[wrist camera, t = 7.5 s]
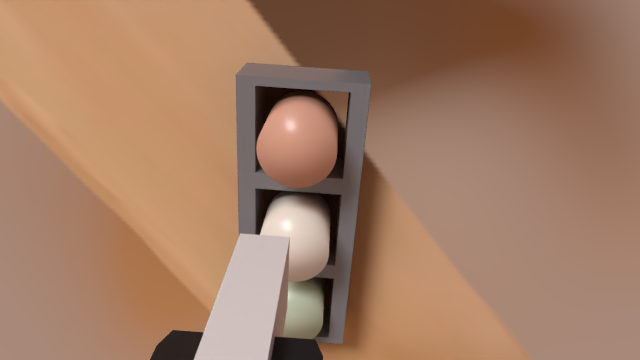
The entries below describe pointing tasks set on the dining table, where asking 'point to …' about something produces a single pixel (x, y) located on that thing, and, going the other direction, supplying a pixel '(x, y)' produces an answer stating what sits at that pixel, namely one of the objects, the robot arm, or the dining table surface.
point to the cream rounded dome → (301, 231)
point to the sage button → (305, 308)
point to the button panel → (337, 182)
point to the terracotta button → (299, 140)
